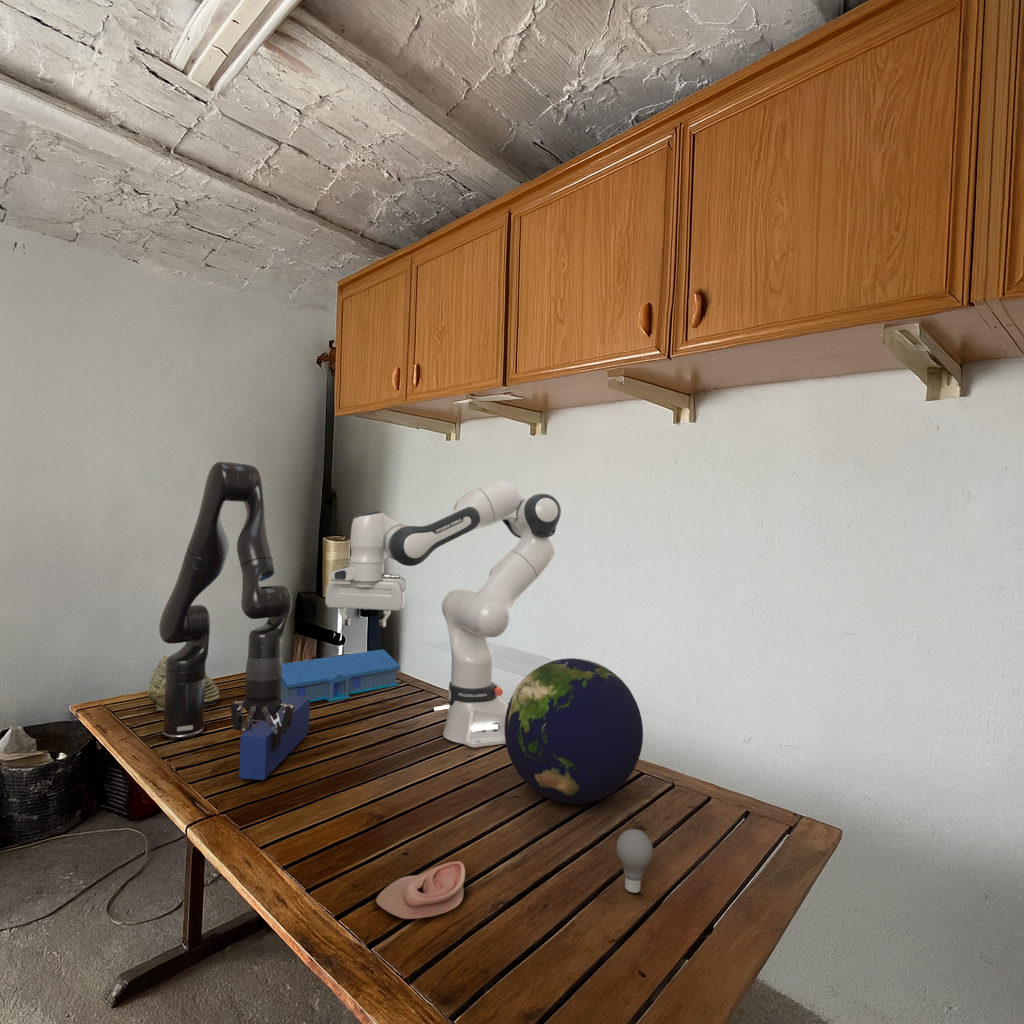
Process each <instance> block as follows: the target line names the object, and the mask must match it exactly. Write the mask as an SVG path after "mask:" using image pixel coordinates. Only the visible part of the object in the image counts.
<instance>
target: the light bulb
mask: <svg viewBox="0 0 1024 1024" xmlns="http://www.w3.org/2000/svg"><path fill="white" fill-rule="evenodd" d="M615 849H616V854H617V857H618V859H619V861H620V863H621V865H622V867H623V873H624V874H623V875H624V876H625V878H624V888H625V890H627V891H628V892H630V893H634V894H635V893H639V892H640V891H641V889H642V887H641V886H642V879H643V877H644V875H645V871H646V868H647V867H648V866H649V864H650V863H651V861H652V859H653V855H654V847H653V843H652V841H651V838H649V836H648V835H647V834H646V833H645V832H643V831H642V830H641V829H636V828H629V829H627V830H625V831H623V832H622V833H621V834H620V835H619V837H618V839H617V841H616V847H615Z"/></svg>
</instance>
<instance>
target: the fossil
mask: <svg viewBox="0 0 1024 1024" xmlns="http://www.w3.org/2000/svg"><path fill="white" fill-rule="evenodd" d="M170 655H171V654H165V655H164V656H163V657H162V658H161V659H160V660H159V662H158V663H157V666H156V667H155V669H154V670H153V672H152V675H151V677H150V680H149V684H148V688H147V697H148V699H149V700H150V701H152V703H153V704H154V706H155V711H158V712H159V711H162V712H163V711H164V705H165V674H166V660H167V658H168V657H169V656H170ZM220 698H221V696H220V690H219V688H218V686H217V685H216V683H215V682H214V681H213V679H212V678H211V677H209V675H208V674H207V672H206V671H205V693H204V707H207V706H213V705H215V704H217V703H218V701H219V699H220Z"/></svg>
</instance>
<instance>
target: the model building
mask: <svg viewBox="0 0 1024 1024" xmlns="http://www.w3.org/2000/svg"><path fill="white" fill-rule="evenodd" d="M400 669H401V665H400V664H399V663H398V662H397V661H396V660H395V659H394V658H393V657H392V656H391V654H389V653H388V652H387V651H386V650H385V649H376V650H368V651H363V652H356V653H349V654H342V655H341V654H340V655H335V656H329V657H328V656H327V657H321V658H315V659H314V658H313V659H307V660H300V661H293V662H287V663H282V680H281V701H284V700H285V699H286V698H287V697H288V696H299V697H310V703H312V702H317V701H323V700H325V701H327V702H329V703H330V702H335V701H341V700H346V699H347V700H348V699H350V698H351V695H353V694H359V693H364V692H365V693H366V692H369V691H373V690H381V689H385V688H390V687H391V688H392V687H395V686H399V683H398V682H397V670H400Z"/></svg>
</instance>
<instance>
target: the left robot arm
mask: <svg viewBox="0 0 1024 1024" xmlns="http://www.w3.org/2000/svg"><path fill="white" fill-rule="evenodd" d="M225 502H238V503H241V502H242V503H243V505H244V508H245V512H246V516H245V521H244V523H243V526H242V528H241V531H240V533H239V535H238V538H237V543H236V551H237V556H238V560H239V564H240V565H239V566H240V569H241V573H242V589H241V590H242V591H241V600H240V605H241V610H242V612H243V614H244V615H245V616H246V617H247V618H249V619H251V620H259V619H267V620H266V622H265V623H264V624H263V625H261V626H258V627H256V628H254V629H252V630H251V631H250V632H249V635H248V646H247V647H248V650H247V661H246V666H245V667H246V668H245V687H244V688H245V691H244V695H245V697H244V700H238V699H237V700H236V701H234V702H232V703H231V704H230V713H231V721H232V728H233V730H234V731H239V732H241V735H242V734H244V733H245V732H246V731H247V730H248V729H250V728H251V727H252V726H253V725H254V722H255V721H259V720H263V721H267V723H268V725H269V726H270V727H271V730H272V733H273V735H272V751H276V750H277V748H278V747H279V746H280V744H281V733H285V732H286V731H287V730H288V729H289V728H290V725H291V720H292V715H293V711H294V704H293V703H291V704H290V705H288V704H284V703H282V701H281V680H282V664H283V659H282V649H283V635H284V633H285V629H286V625H287V622H288V619H289V616H290V614H291V610H292V607H293V598H292V594H291V591H290V589H289V588H288V587H286V586H285V585H277V584H276V585H266V586H260V582H263V581H265V580H268V579H270V578H272V577H273V576H274V575H275V572H276V565H275V562H274V558H273V554H272V550H271V546H270V542H269V539H268V533H267V526H266V525H267V524H266V511H265V510H266V509H265V500H264V491H263V481H262V477H261V475H260V472H259V470H258V468H257V467H255V466H254V465H251V464H247V463H239V462H230V461H217V462H215V463H214V464H213V465H212V466H211V467H210V469H209V472H208V474H207V477H206V481H205V485H204V489H203V494H202V498H201V503H200V507H199V511H198V515H197V518H196V522H195V525H194V528H193V531H192V533H191V536H190V539H189V542H188V544H187V547H186V551H185V553H184V556H183V560H182V563H181V567H180V570H179V572H178V573H179V574H178V576H177V579H176V582H175V584H174V587H173V589H172V591H171V593H170V595H169V598H168V599H167V601H166V604H165V607H164V609H163V611H162V613H161V616H160V619H159V625H158V632H159V637H160V639H161V641H163V642H164V643H166V644H170V645H172V644H183V643H185V644H184V645H183V646H182V647H181V648H180V649H178V650H177V651H176V652H174V653H172V654H169V655H170V656H169V657H168V658H167V660H166V674H165V705H164V710H163V730H162V737H164V738H166V739H169V740H185V739H190V738H191V739H192V738H194V737H197V736H199V735H202V734H203V732H204V730H205V729H204V727H205V725H204V722H205V721H204V718H205V706H204V693H205V672H206V664H207V663H206V662H207V658H208V655H209V644H210V635H211V616H210V613H209V610H208V608H207V607H206V606H205V605H203V604H193V603H194V601H195V600H196V599H197V597H199V596H200V594H202V593H203V591H205V590H206V589H207V588H208V587H209V586H210V585H211V584H212V583H213V582H215V580H216V579H217V578H218V577H219V576H220V575H221V573H222V571H223V569H224V566H225V563H226V560H227V557H228V555H229V552H230V551H229V550H230V544H229V538H228V537H227V534H226V531H225V529H224V527H223V524H222V520H221V514H222V509H223V505H224V504H225ZM280 708H281V709H282V713H283V714H284V717H283V721H282V726H281V724H280V721H279V720H280V718H279V716H278V713H277V712H278V711H279V709H280ZM244 709H245V711H246V713H247V716H246V717H245V720H244V719H243V718H244V717H243V710H244Z"/></svg>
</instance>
